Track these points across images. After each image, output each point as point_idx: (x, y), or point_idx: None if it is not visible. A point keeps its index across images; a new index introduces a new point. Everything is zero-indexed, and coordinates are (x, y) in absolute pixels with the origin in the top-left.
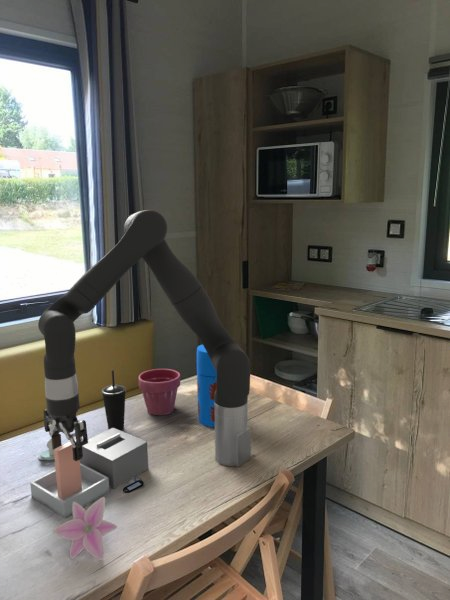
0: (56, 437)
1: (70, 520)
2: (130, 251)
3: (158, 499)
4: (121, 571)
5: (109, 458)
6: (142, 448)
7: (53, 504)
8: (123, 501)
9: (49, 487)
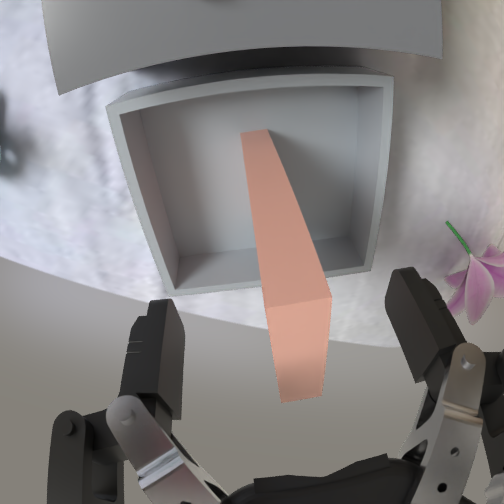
0: (171, 397)
1: (461, 311)
2: None
3: (496, 28)
4: None
5: (414, 48)
6: None
7: None
8: (437, 82)
9: (170, 212)
